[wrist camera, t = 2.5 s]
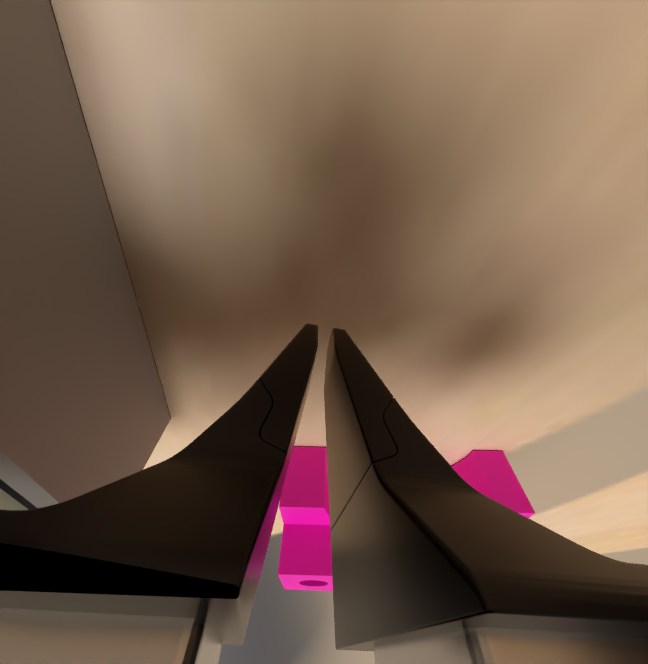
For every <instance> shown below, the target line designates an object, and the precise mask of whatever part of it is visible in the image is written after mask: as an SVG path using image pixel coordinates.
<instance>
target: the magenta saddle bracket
mask: <svg viewBox="0 0 648 664" xmlns="http://www.w3.org/2000/svg"><path fill="white" fill-rule="evenodd" d="M451 467H452V468H453V469H454V470H455V471H456V472H457V473H458V474H459V475H460V476H461V477H462V478H463V479H464V480H465V481H466V482H467V483H468V484H469V485H470V486H472V487H473V488H474V489H476V490H477V491H479V492H480V493H482V494H483V495H485V496H487V497H489V498H491V499H492V500H494V501H496V502H498V503H500V504H502V505H504V506H506V507H508V508H510V509H512V510H513V511H515V512H517V513H519V514H521V515H523V516H525V517H527V518H529V517H531V516H532V515H533V514H535V512H534V510H533V508H532V506H531V504H530V502H529V500H528V498H527V497H526V495H525V493H524V491H523V489H522V487H521V485H520V483H519V482H518V480H517V478H516V476H515V474H514V472H513V470H512V468H511V466H510V464H509V462H508V460H507V458H506V457H505V455H504V453H503V451H479V450H473V451H472V452H471V453H470V454H469V455H468V456H467V457H465V458H464V459H463V460H461V461H460V462H458V463H456V464H454V465H452V466H451ZM279 508H280V511H281V515H282V519H283V523H284V527H283V536H282V544H281V553H280V561H279V569H278V576H279V578H280V580H281V582H282V584H283V586H284V589H291V590H323V591H324V590H325V591H333V578H332V556H331V534H330V533H331V530H330V510H329V488H328V466H327V451H326V448H325V447H293V450H292V454H291V458H290V462H289V466H288V470H287V474H286V478H285V482H284V485H283V489H282V493H281V497H280V505H279Z"/></svg>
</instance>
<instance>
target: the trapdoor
mask: <svg viewBox="0 0 648 664" xmlns="http://www.w3.org/2000/svg"><path fill="white" fill-rule="evenodd" d="M0 509H1V510H29V509H27V508H26V507H25V506H23V505H22V504H20V503H19V502H18V501H16V500H15V499H14V498H12V497H11V496H10V495H8V494H7V493H6V492H4V491H3V490H2V489H0Z"/></svg>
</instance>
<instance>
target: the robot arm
mask: <svg viewBox="0 0 648 664" xmlns="http://www.w3.org/2000/svg"><path fill="white" fill-rule="evenodd" d="M317 347H318V326H317V325H313V324H306V325H305V326H304V327H303V328H302V329H301V330H300V332H299V333H298V334H297V335H296V336H295V337H294V339H293V340H292V341H291V342H290V343H289V344H288V345H287V347H286V348H285V349H284V350H283V351H282V352H281V354H280V355H279V356H278V357H277V358H276V359H275V360H274V362H273V363H272V364H271V365H270V366H269V367H268V369H267V370H266V371H265V372H264V373H263V374H262V375H261V377H260V378H259V379H258V380H257V381H256V382H255V383H254V385H253V386H252V387H251V388H250V389H249V390H248V391H247V392H246V393H245V394H244V395H243V397H242V398H241V399H240V400H239V401H237V402H236V403H235V404H234V405H233V406H232V407H231V408H230V409H229V410H228V411H227V412H226V413H224V414H223V415H222V416H221V417H220V418H219V419H218V420H217V421H215V422H214V423H213V424H212V425H211V426H210V427H209V428H208V429H206V430H205V431H204V432H203V433H202V434H201V435H200V436H198V437H197V438H196V439H195V440H194V441H193V442H192V443H190V444H189V445H188V446H187V447H186V448H184V449H183V450H182V451H180V452H179V453H177V454H176V455H174V456H173V457H171V458H169V459H167V460H165V461H163V462H161V463H159V464H156V465H154V466H151V467H149V468H146V469H144V470H141V471H139V472H137V473H134V474H132V475H129V476H127V477H124V478H122V479H120V480H117V481H115V482H112V483H110V484H107V485H105V486H102V487H100V488H98V489H95V490H93V491H90V492H88V493H85V494H83V495H80V496H78V497H75V498H73V499H70V500H67V501H64V502H61V503H58V504H54V505H50V506H46V507H42V508H36V509H30V510H1V509H0V664H218V661H219V656H220V651H221V647H222V644H226V645H227V644H228V645H242V644H243V641H244V637H245V633H246V629H247V625H248V621H249V617H250V613H251V610H252V606H253V602H254V598H255V594H256V590H257V586H258V582H259V579H260V575H261V571H262V567H263V563H264V559H265V555H266V551H267V548H268V544H269V540H270V536H271V532H272V528H273V524H274V520H275V516H276V513H277V509H278V505H279V501H280V497H281V493H282V489H283V485H284V482H285V478H286V474H287V470H288V466H289V462H290V458H291V454H292V450H293V447H294V443H295V439H296V435H297V431H298V427H299V423H300V419H301V415H302V412H303V408H304V404H305V400H306V396H307V392H308V388H309V383H310V379H311V374H312V370H313V365H314V361H315V356H316V352H317ZM324 399H325V421H326V443H327V466H328V488H329V510H330V530H331V533H330V534H331V556H332V578H333V600H334V622H335V643H336V649H337V650H359V651H374V655H375V664H648V565H644V564H633V563H632V564H631V563H626V562H621V561H617V560H614V559H611V558H608V557H605V556H603V555H600V554H598V553H596V552H593V551H591V550H589V549H587V548H585V547H583V546H581V545H578V544H576V543H574V542H573V541H571V540H569V539H567V538H565V537H563V536H561V535H559V534H557V533H555V532H553V531H552V530H550V529H548V528H546V527H544V526H542V525H540V524H538V523H536V522H534V521H532V520H531V519H529V518H527V517H525V516H523V515H521V514H519V513H517V512H515V511H513V510H512V509H510V508H508V507H506V506H504V505H502V504H500V503H498V502H496V501H494V500H492V499H491V498H489V497H487V496H485V495H483V494H482V493H480V492H479V491H477V490H476V489H474V488H473V487H472V486H470V485H469V484H468V483H467V482H466V481H465V480H464V479H463V478H462V477H461V476H460V475H459V474H458V473H457V472H456V471H455V470H454V469H453V468H452V467H451V465H450V464H449V463H448V462H447V461H446V460H445V459H444V458H443V456H442V455H441V454H440V453H439V452H438V451H437V450H436V448H435V447H434V446H433V445H432V444H431V443H430V442H429V441H428V439H427V438H426V437H425V436H424V435H423V434H422V433H421V431H420V430H419V429H418V428H417V427H416V425H415V424H414V423H413V422H412V421H411V419H410V418H409V417H408V415H407V414H406V413H405V412H404V410H403V409H402V408H401V406H400V405H399V404H398V402H397V401H396V399H395V398H393V395H392V394H391V393H390V391H389V390H388V389H387V387H386V386H385V384H384V383H383V382H382V380H381V379H380V378H379V376H378V375H377V373H376V372H375V371H374V369H373V368H372V367H371V365H370V364H369V363H368V361H367V360H366V358H365V357H364V356H363V354H362V353H361V352H360V350H359V349H358V347H357V346H356V345H355V343H354V342H353V341H352V339H351V338H350V336H349V335H348V334H347V332H346V331H345V330H344V329H338V328H333V330H332V333H331V337H330V341H329V345H328V349H327V360H326V372H325V384H324Z"/></svg>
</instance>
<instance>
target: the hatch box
mask: <svg viewBox="0 0 648 664" xmlns="http://www.w3.org/2000/svg"><path fill="white" fill-rule="evenodd" d="M170 419H171V417H170V413H169V410H168V406H167V403H166V400H165V396H164V393H163V389H162V386H161V382H160V379H159V376H158V372H157V369H156V365H155V362H154V358H153V355H152V352H151V348H150V345H149V341H148V338H147V334H146V331H145V327H144V324H143V321H142V317H141V314H140V310H139V307H138V303H137V300H136V297H135V293H134V290H133V286H132V283H131V279H130V276H129V273H128V269H127V266H126V262H125V259H124V255H123V252H122V249H121V245H120V242H119V238H118V235H117V231H116V228H115V225H114V221H113V218H112V214H111V211H110V207H109V204H108V200H107V197H106V194H105V190H104V187H103V183H102V180H101V176H100V173H99V170H98V166H97V163H96V159H95V156H94V152H93V149H92V146H91V142H90V139H89V135H88V132H87V128H86V125H85V122H84V118H83V115H82V111H81V108H80V104H79V101H78V98H77V94H76V91H75V87H74V84H73V80H72V77H71V74H70V70H69V67H68V63H67V60H66V56H65V53H64V49H63V46H62V43H61V39H60V36H59V32H58V29H57V25H56V22H55V19H54V15H53V12H52V8H51V5H50V1H49V0H0V489H2V490H3V491H4V492H6V493H7V494H8V495H10V496H11V497H12V498H14V499H15V500H16V501H18V502H19V503H20V504H22V505H23V506H25V507H26V508H27V509H29V510H30V509H36V508H42V507H46V506H50V505H54V504H58V503H61V502H64V501H67V500H70V499H73V498H75V497H78V496H80V495H83V494H85V493H88V492H90V491H93V490H95V489H98V488H100V487H102V486H105V485H107V484H110V483H112V482H115V481H117V480H120V479H122V478H124V477H127V476H129V475H132V474H134V473H137V472H139V471H141V470H143V468H144V466H145V464H146V463H147V461H148V459H149V457H150V455H151V454H152V452H153V450H154V448H155V446H156V444H157V443H158V441H159V439H160V437H161V435H162V433H163V432H164V430H165V428H166V426H167V424H168V423H169V421H170Z"/></svg>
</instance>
